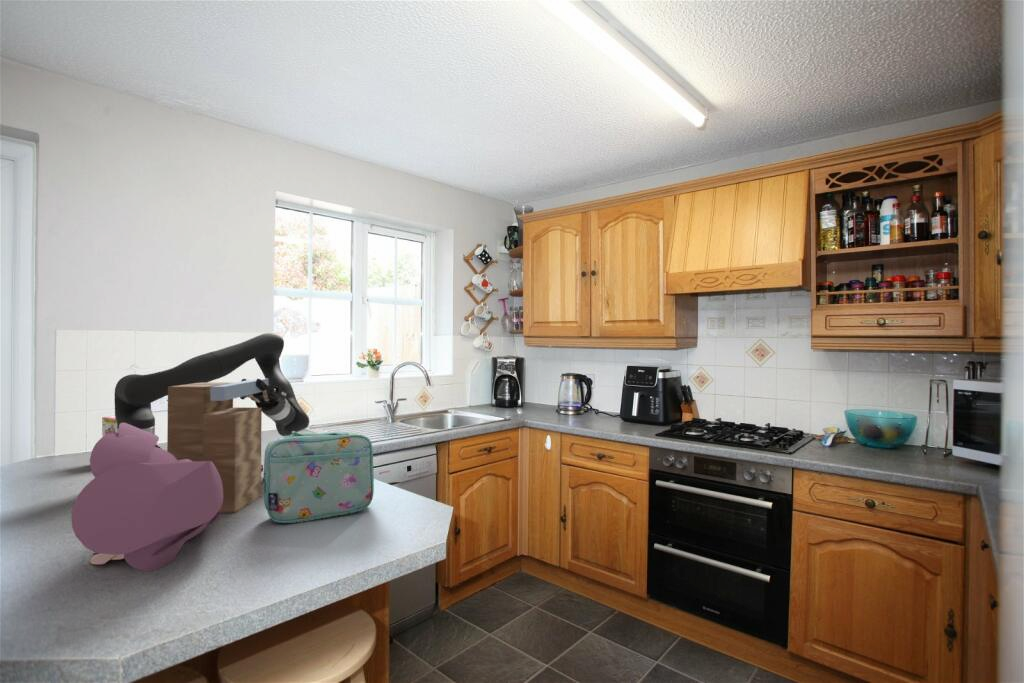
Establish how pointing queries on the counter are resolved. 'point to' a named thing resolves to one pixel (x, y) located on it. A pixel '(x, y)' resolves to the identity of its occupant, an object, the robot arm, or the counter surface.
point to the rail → (234, 390)
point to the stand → (217, 440)
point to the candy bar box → (109, 425)
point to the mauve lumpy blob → (143, 500)
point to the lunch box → (317, 476)
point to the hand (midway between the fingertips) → (250, 381)
